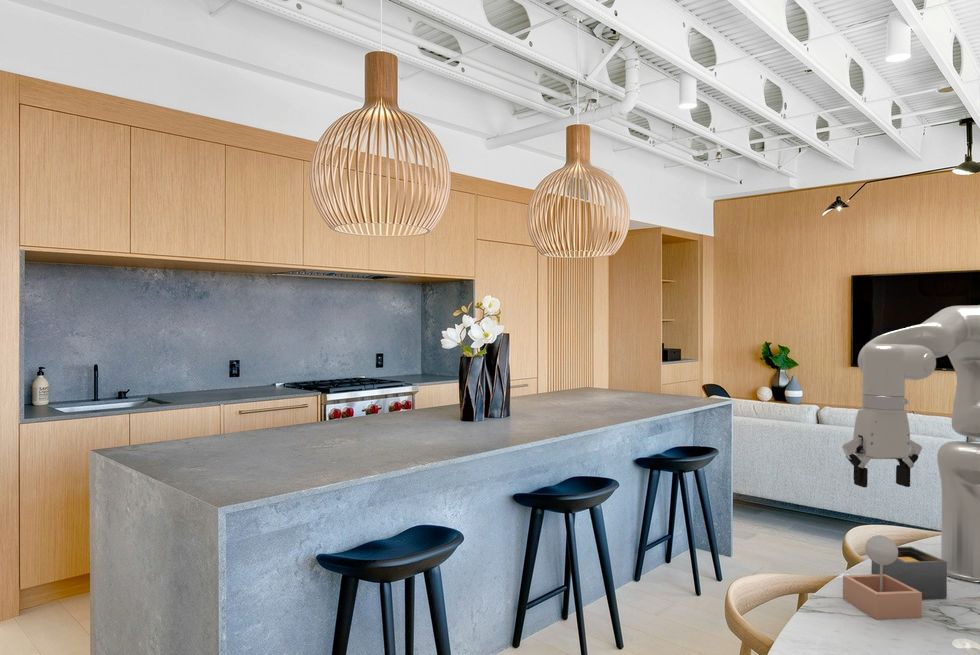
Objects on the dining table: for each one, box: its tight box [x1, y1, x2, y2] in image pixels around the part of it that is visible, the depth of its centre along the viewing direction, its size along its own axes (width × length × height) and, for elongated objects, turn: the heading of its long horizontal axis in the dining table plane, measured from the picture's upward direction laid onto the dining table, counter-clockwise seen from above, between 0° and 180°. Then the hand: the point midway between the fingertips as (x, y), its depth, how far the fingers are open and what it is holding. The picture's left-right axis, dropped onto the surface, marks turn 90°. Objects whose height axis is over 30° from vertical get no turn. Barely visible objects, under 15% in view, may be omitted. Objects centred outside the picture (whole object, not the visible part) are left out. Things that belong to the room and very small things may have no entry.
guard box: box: [870, 546, 948, 601], centre depth 143 cm, size 10×10×8 cm
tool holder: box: [842, 574, 923, 620], centre depth 133 cm, size 10×10×5 cm
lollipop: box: [864, 534, 898, 592], centre depth 133 cm, size 6×6×15 cm
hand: (881, 485), depth 133 cm, fingers open, 9 cm apart
